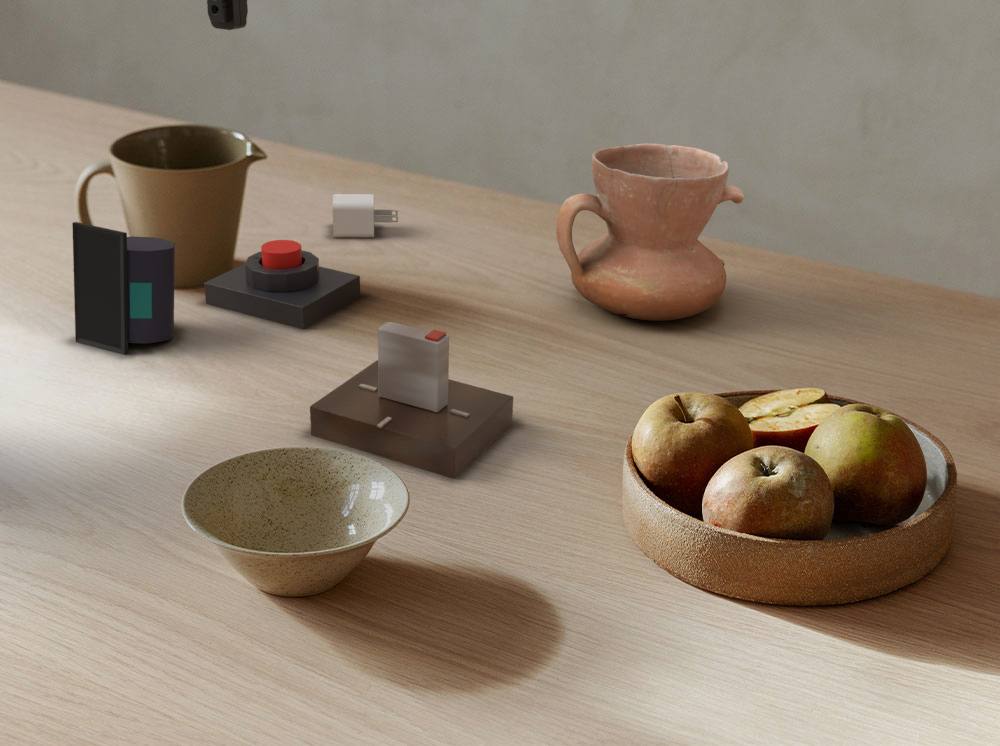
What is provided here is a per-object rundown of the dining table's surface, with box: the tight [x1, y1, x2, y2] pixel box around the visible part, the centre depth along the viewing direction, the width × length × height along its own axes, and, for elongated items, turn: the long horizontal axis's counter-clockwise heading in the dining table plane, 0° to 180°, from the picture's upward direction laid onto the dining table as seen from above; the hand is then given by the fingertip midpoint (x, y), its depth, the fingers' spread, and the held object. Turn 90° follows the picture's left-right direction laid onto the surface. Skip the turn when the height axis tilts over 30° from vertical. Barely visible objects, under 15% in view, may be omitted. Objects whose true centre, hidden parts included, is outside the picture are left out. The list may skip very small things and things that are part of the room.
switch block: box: [203, 249, 361, 330], centre depth 102 cm, size 11×9×4 cm
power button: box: [260, 239, 303, 269], centre depth 101 cm, size 4×4×2 cm
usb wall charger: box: [332, 193, 399, 239], centre depth 120 cm, size 4×7×4 cm, turn 96°
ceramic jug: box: [555, 143, 745, 322], centre depth 102 cm, size 18×14×14 cm
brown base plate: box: [309, 359, 514, 480], centre depth 81 cm, size 12×9×3 cm
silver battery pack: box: [377, 321, 450, 412], centre depth 79 cm, size 5×2×6 cm, turn 64°
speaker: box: [72, 221, 176, 356], centre depth 92 cm, size 8×6×10 cm
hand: (228, 27), depth 82 cm, fingers closed
